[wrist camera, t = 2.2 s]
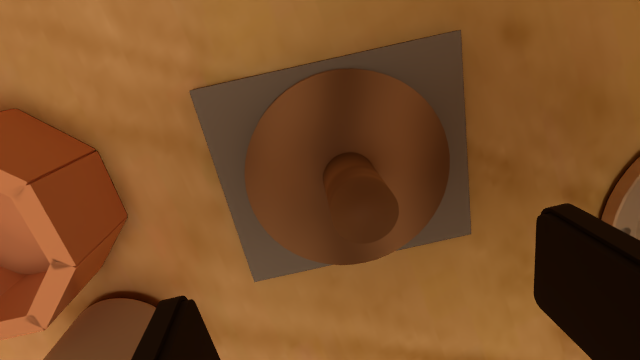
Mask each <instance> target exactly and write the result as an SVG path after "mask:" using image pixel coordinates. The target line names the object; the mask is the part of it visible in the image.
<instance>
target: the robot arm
mask: <svg viewBox="0 0 640 360" xmlns="http://www.w3.org/2000/svg"><path fill="white" fill-rule="evenodd" d="M534 298H535V300H536V303H537V304H538V306H539V307H540V308H541V309H542V310H543V311H544V312H545V313H546V314H547V315H548V316H549V317H550V318H551V319H552V320H553V321H554V322H555V323H556V324H557V325H558V326H559V327H560V328H561V329H562V330H563V331H564V332H565V333H566V334H567V335H568V336H569V337H570V338H571V339H572V340H573V341H574V342H575V343H576V344H577V345H578V346H579V347H580V348H581V349H582V350H583V351H584V352H585V353H586V354H587V355H588V356H589V357H590V358H591V359H592V360H640V157H639V158H638V159H637V160H636V161H635V162H634V163H633V164H632V165H631V166H630V167H629V168H628V170H627V171H626V172H625V174H624V175H623V176H622V177H621V179H620V180H619V181H618V183H617V184H616V186H615V188H614V190H613V192H612V193H611V195H610V197H609V199H608V201H607V204H606V207H605V210H604V212H603V215H602V220H600V219H598V218H596V217H594V216H593V215H591V214H589V213H587V212H585V211H583V210H581V209H579V208H577V207H575V206H574V205H571V204H561V205H557V206H553V207H549V208H545V209H544V210H543V211H542V212H541V215H540V216H538V218H537V223H536V248H535V274H534ZM131 360H220V358H219V355H218V353H217V351H216V349H215V346H214V344H213V342H212V340H211V337H210V335H209V333H208V330H207V328H206V326H205V324H204V321H203V319H202V317H201V315H200V312H199V310H198V308H197V305H196V303H195V302H194V300H192V299H191V300H188V299H187V298H186V297H185V296H179V297H175V298H170V299H166V300H162V301H160V302H159V304H158V305H157V307H156V309H155V312H154V314H153V316H152V318H151V320H150V322H149V324H148V326H147V328H146V330H145V332H144V334H143V336H142V338H141V340H140V342H139V344H138V346H137V348H136V350H135V352H134V354H133V356H132V358H131Z"/></svg>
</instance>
